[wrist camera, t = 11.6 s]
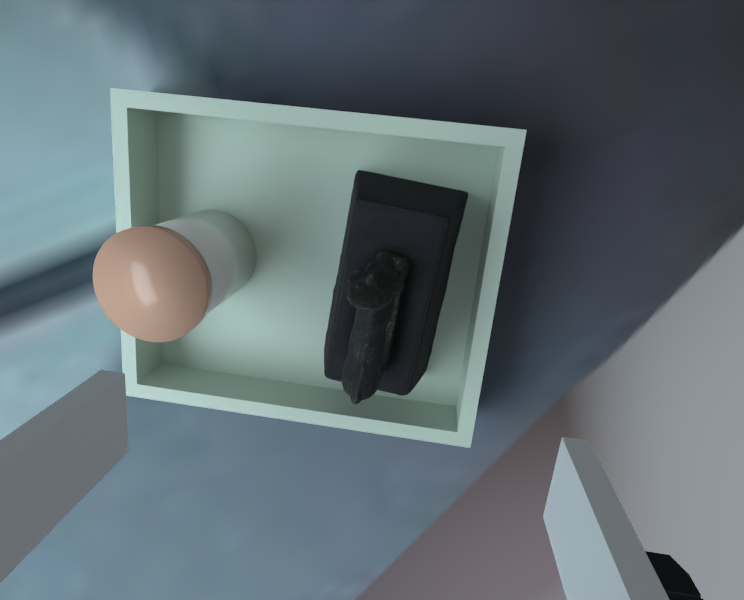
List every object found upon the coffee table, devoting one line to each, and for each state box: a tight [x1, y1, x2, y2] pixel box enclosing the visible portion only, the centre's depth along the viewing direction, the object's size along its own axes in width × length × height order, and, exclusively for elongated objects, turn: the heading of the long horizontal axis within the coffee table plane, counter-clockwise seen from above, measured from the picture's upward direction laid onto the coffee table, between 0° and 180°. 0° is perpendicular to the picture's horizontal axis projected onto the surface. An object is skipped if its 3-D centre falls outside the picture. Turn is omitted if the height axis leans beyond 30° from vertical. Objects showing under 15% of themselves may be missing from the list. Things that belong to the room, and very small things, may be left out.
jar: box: [93, 210, 257, 342], centre depth 33 cm, size 6×6×9 cm
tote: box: [110, 88, 527, 448], centre depth 35 cm, size 20×24×4 cm
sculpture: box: [324, 170, 468, 404], centre depth 29 cm, size 8×13×15 cm, turn 167°
